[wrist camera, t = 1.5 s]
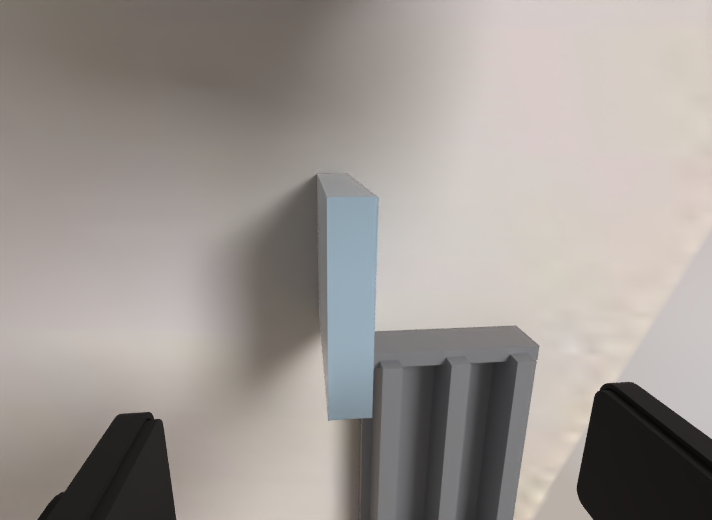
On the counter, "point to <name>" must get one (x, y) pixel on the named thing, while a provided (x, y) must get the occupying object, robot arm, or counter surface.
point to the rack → (446, 424)
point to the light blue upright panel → (347, 293)
